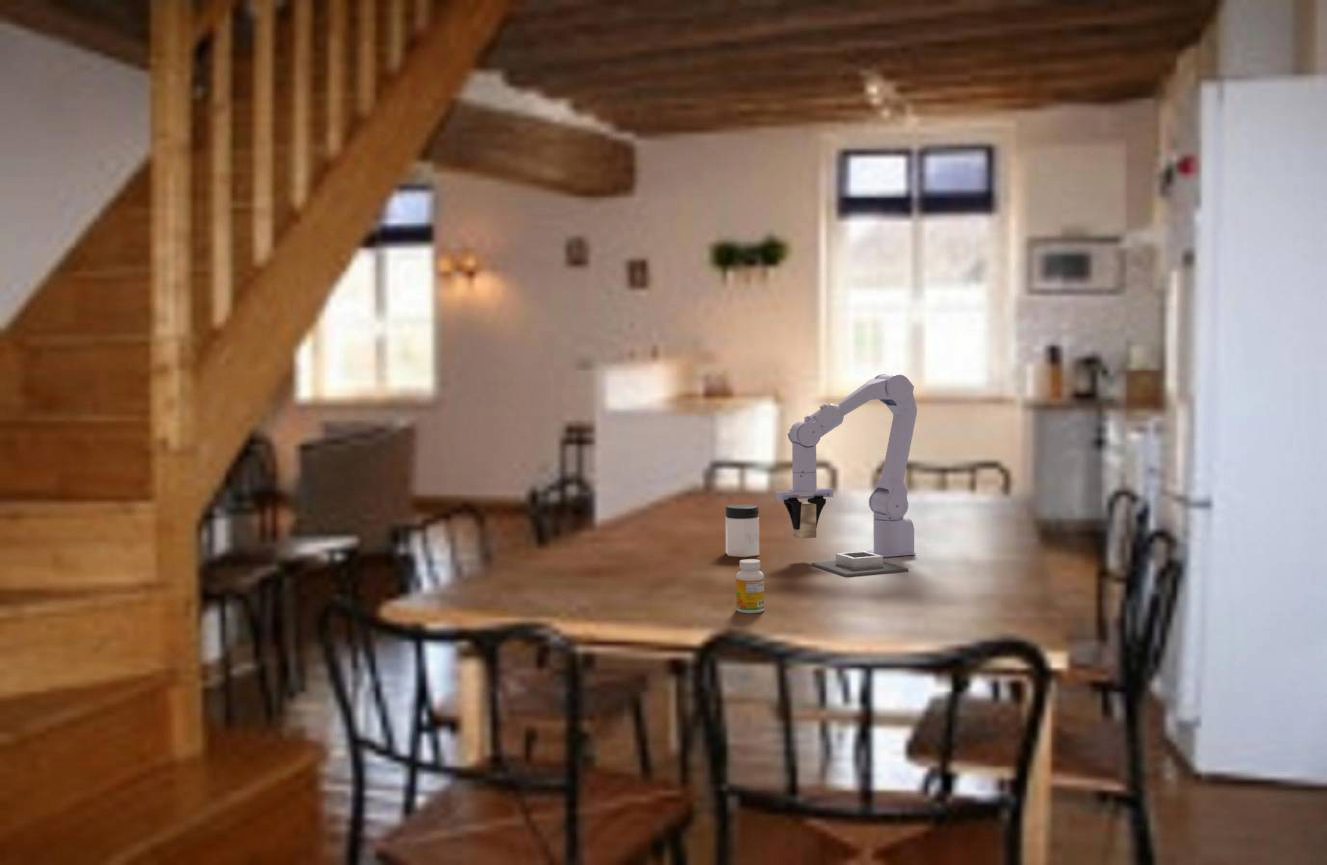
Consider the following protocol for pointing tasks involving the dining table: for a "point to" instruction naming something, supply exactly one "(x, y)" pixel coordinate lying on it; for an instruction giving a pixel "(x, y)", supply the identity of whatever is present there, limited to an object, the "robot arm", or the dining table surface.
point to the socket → (859, 560)
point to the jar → (742, 530)
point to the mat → (848, 572)
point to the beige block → (807, 521)
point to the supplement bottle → (750, 587)
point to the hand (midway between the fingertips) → (804, 528)
